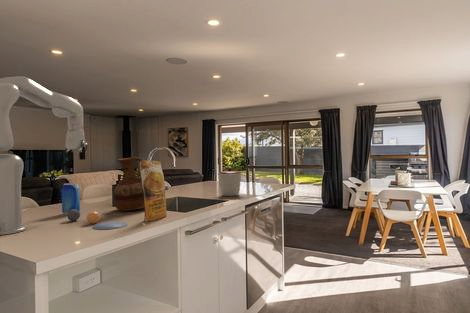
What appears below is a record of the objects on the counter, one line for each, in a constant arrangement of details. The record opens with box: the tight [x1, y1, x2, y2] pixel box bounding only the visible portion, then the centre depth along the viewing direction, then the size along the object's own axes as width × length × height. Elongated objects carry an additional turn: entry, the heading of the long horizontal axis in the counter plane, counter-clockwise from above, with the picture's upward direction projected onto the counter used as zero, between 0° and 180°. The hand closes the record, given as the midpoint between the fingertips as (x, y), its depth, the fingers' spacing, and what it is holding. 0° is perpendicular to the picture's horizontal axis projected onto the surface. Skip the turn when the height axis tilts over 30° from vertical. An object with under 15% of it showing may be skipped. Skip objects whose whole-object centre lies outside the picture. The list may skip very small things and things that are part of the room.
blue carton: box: [61, 182, 81, 216], centre depth 159 cm, size 8×8×16 cm
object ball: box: [85, 210, 101, 225], centre depth 134 cm, size 6×6×6 cm
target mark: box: [91, 221, 128, 231], centre depth 129 cm, size 14×14×1 cm
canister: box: [217, 166, 243, 197], centre depth 222 cm, size 18×18×21 cm
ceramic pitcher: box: [113, 156, 145, 211], centre depth 169 cm, size 20×20×30 cm
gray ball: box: [66, 209, 81, 222], centre depth 141 cm, size 6×6×6 cm
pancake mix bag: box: [138, 159, 168, 222], centre depth 143 cm, size 7×19×28 cm, turn 157°
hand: (76, 159), depth 163 cm, fingers open, 9 cm apart
